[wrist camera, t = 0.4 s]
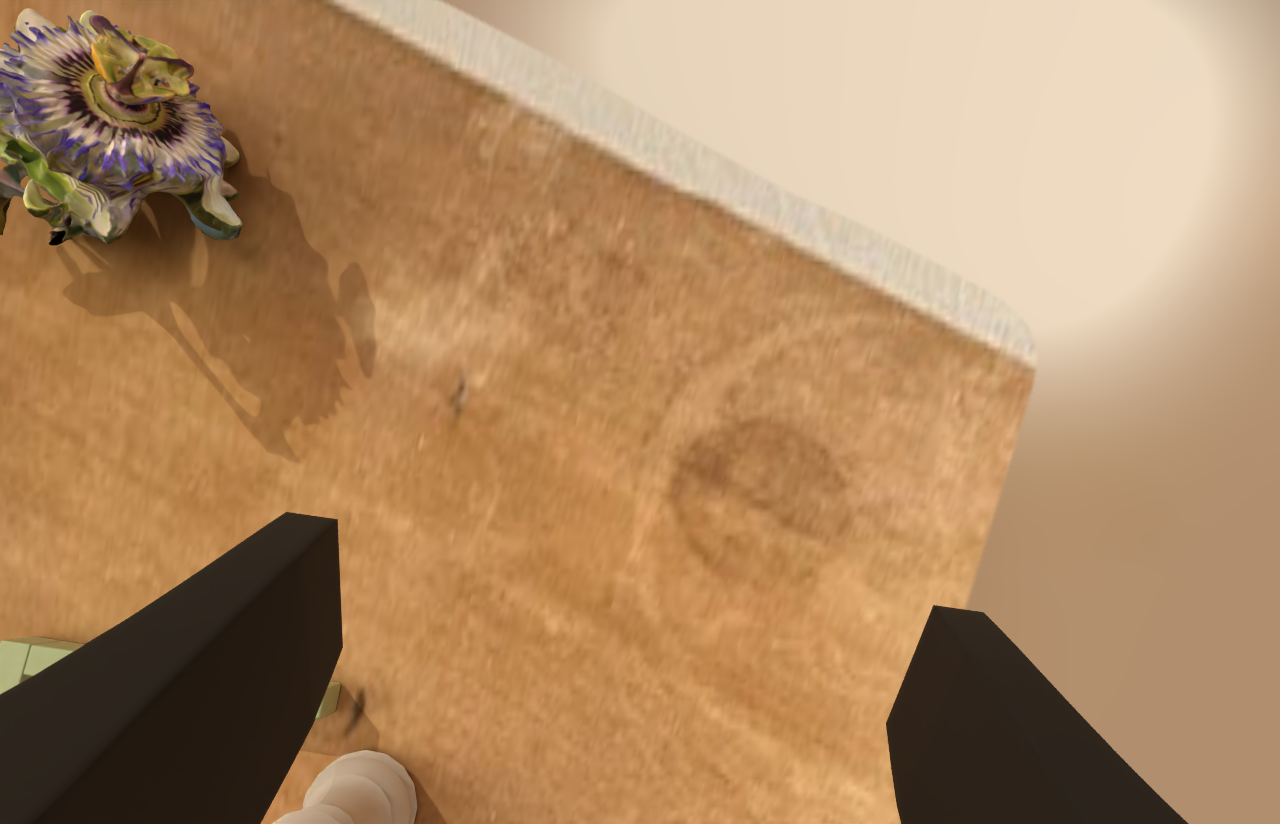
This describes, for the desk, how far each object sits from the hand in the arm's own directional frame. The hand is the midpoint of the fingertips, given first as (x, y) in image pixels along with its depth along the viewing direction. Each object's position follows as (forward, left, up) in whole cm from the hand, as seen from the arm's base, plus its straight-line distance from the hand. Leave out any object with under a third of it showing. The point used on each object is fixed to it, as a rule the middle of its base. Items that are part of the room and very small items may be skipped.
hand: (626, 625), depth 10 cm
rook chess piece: (-10, +9, -27) cm, 30 cm away
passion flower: (+15, +25, -27) cm, 40 cm away
